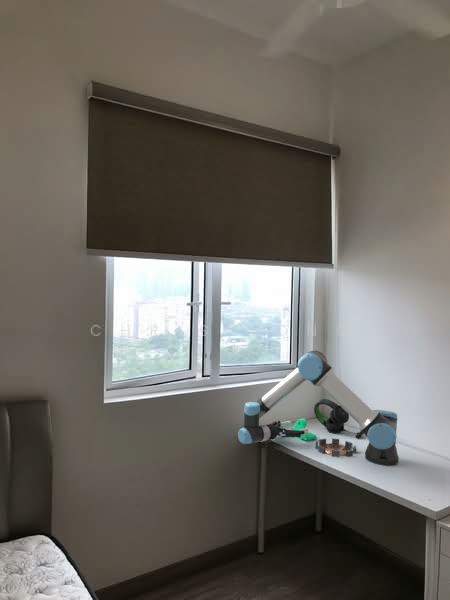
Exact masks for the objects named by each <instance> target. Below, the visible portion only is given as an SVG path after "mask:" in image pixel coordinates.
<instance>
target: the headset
mask: <svg viewBox="0 0 450 600" xmlns="http://www.w3.org/2000/svg"><path fill="white" fill-rule="evenodd" d="M321 405H325V406H328V407H329V408H330V409H331V411H330V413H329V417H328V418H327V419H326V418H325V417H324V416H323V414H322V413H321V411H320V406H321ZM313 412H314V415H315V417H316V419H317V420H318V421H319V423H320V424H321V425H322V426H323V427H325V428H326V431H327V432H328V433H330V434H334V435H335V434H339V433H341V432H348V433H349V434H352V432H350V431H349V430H346V429H345V424H346V423H347V422H348V421H349V420H350V415H349V414H348V413H347V412H346V411H345V410H344V409H343V408H342V407H341V406H340V405H339V404H338V403H337V402H336V401H332V400H330V399H328V398H322V399H320V400H318V401H317V403H315V404H314V407H313ZM355 434H356V436H355V438H356V439H360V438H361V437H362V436H365V434H364V433H363V432H362V431H361V430H360V431H358V432H355Z"/></svg>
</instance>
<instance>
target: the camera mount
mask: <svg viewBox="0 0 450 600" xmlns="http://www.w3.org/2000/svg"><path fill="white" fill-rule="evenodd" d="M307 422H308V421H307V420H306V419H305V418H299V419H297V420H296V422H295V423H294V425H293V428H292V429H291V430H297V431H298V430H299V429H305V428H307V427H308V426H307V425H308V423H307ZM317 437H318V436H317V434H316V433H315V434H314V433H313V432H310V431H308V434H304V435H301V437H299V438H298V437H295V438H297V439H299V440H301V441H303V440H304V441H309V440H317Z"/></svg>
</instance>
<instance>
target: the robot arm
mask: <svg viewBox="0 0 450 600" xmlns="http://www.w3.org/2000/svg"><path fill="white" fill-rule="evenodd" d="M296 366H297V367H295V368H294V369H293V370H292V371H291V372H290V373H289V374H287V375H286V376H285V377H284V378H283V379H281V381H279V382H278V383H276V385H274V386H273V387H272V388H271V389H270V390H269V391H267V392H266V393H265V394H264V395H263V396H261V397H260V398H259V399H258V400H257V401H248V402H246V403H245V404H244V409H243V426H242V428H240V429H239V430H238V432H237V437H238V440H239V442H240V443H241V444H243V445H246V444H247V445H248V444H254V443H259V442H261V443H262V442H264V441H272V440H274V439H276V438H277V437H281V438H296V437H298V438H299V437H301V435H304V434H308V432H309V428H308V427H306V428H305V429H299V430H298V431H297V430H292V429H286V428H289V427H291V425H292V421H291V420H287V421H283V422H281V420H277V421H273V422H272V423H269V424H263V425H260V419H261V418H262V417H264V416H265V415H266V414H267V413H268V412H269V411H271V409H273V408H274V407H275V406H277V405H278V404H279V403H280V402H281V401H282V400H284V399H285V398H286V397H288V396H289V395H290V394H291V393H292V392H294V390H296V389H298V387H300V386H301V385H303V383H305V382H306V381H309V382H311V384H312V385H313V386H314V387H320V388H321V389H322V390H323V391H324V392H325V393H326V394H328V396H330V397H331V399H332V400H333V401H334V402H335V403H336V404H337V405H339V406H341V407H342V408H343V409H344V410H345V411H346V412H347V413H348V414H349V417H351V418H352V419H353V420H354V421H355V422H356V423H357V424H358V425H359V430H360V431H362V432H363V433H364V436H366V437H367V440H368V445H367V446H366V449H365V452H364V458H365V460H367V461H368V462H371V463H374V464H376V465H382V466H396V465H398V464H399V459H400V458H399V455H398V450H397V446H396V445H397V443H396V441H397V428H398V426H397V425H398V414H397V413H396V412H394V411H391V410H390V411H389V410H383V409H380V410H379V409H371V408H370V407H369V406H368V405H367V404H366V403H365V402H364V401H363V400H362V399H361V398H360V397H358V395H357V394H356V393H354V391H353V390H352V389H350V387H348V385H346V384H345V383H344V382H343V381H342V380H341V379H340V378H339V377H338V376H337V375H336V374H335V373H334V369H333V368H334V367H332V366H331V365H330V364H329V363H328V360H327V356H326V355H325V354H324V353H323V352H321V351H319V350H311V351H308V352H307V353H304V354H303V355H302V356H301V357H300V358H299V359H298V362H297V365H296ZM298 438H297V439H298Z"/></svg>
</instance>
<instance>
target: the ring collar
mask: <svg viewBox="0 0 450 600" xmlns="http://www.w3.org/2000/svg"><path fill="white" fill-rule="evenodd" d="M344 442H345V444H344V445H343V444H340V438H333V437H332V438H331V443H327V438H319V440H318V441H315V449H316V450H317V452H318V453H321V454H322V455H325V454H327V455H330V456H331V457H333V458H334V457H336V458H340V457H345V458H346V457H347V458H349V457H353V456H354V454H357V446H356V445H353V442H351V441H348V440H346V441H344Z"/></svg>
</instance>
